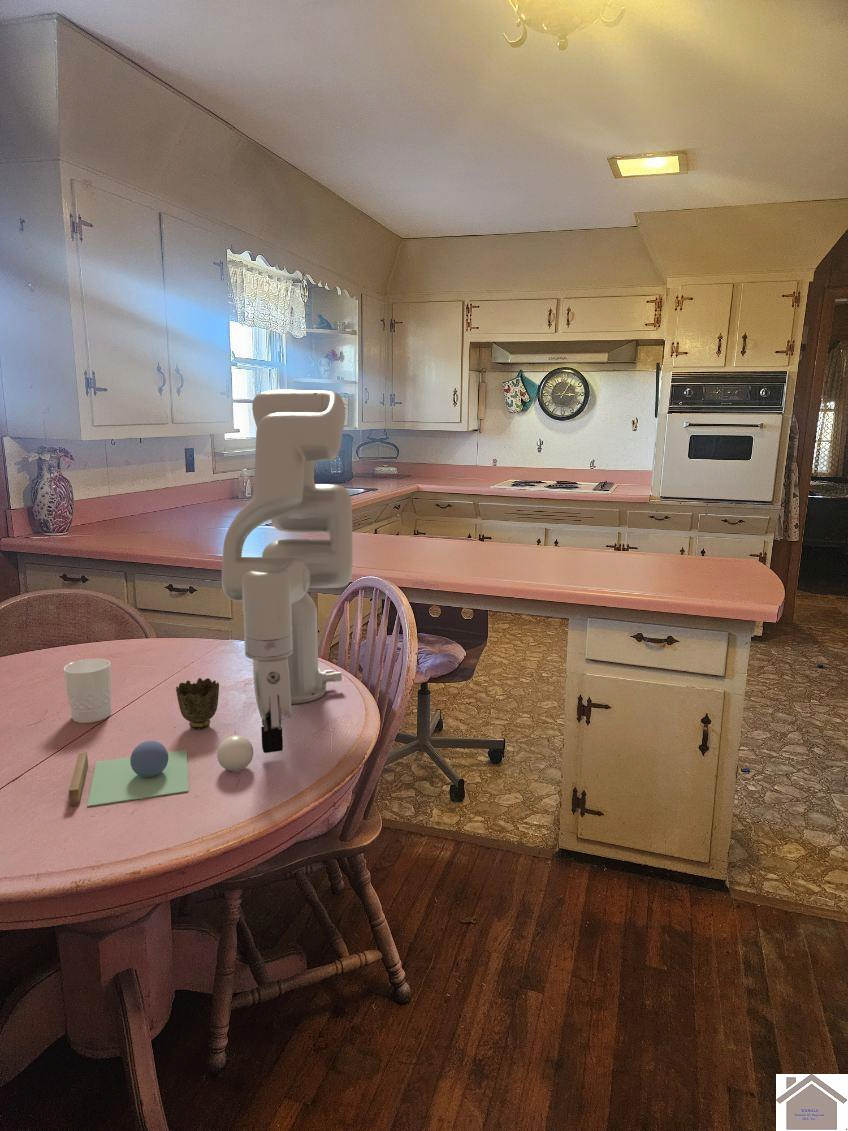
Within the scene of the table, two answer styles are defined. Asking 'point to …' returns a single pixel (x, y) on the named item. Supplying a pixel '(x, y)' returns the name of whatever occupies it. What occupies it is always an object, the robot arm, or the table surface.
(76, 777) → the stop rail
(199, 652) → the table surface
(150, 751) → the object ball
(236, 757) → the cream ball
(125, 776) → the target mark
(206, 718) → the cup
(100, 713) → the white cup
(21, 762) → the table surface
